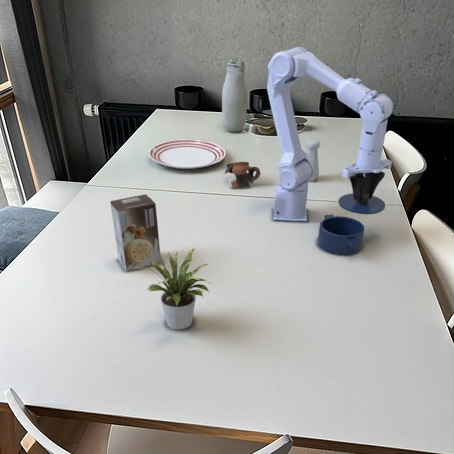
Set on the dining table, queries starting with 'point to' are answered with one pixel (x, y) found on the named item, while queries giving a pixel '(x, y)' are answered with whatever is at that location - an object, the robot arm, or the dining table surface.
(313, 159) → the salt shaker
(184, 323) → the house plant
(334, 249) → the pot
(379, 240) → the dining table surface
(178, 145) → the dinner plate
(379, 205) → the lid
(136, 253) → the cracker box
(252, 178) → the pottery mug
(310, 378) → the dining table surface
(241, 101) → the glass bottle
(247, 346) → the dining table surface
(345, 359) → the dining table surface
